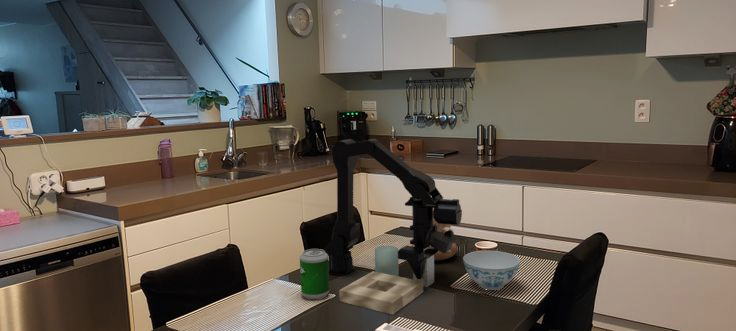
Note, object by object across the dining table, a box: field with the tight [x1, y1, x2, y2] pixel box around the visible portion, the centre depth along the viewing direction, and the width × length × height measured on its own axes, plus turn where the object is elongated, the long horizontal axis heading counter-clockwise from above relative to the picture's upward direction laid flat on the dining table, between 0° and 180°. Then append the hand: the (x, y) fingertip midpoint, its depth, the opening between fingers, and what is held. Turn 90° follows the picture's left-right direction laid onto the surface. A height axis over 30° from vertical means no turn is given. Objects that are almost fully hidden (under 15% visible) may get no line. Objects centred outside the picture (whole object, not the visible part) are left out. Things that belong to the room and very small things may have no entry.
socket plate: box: [338, 270, 424, 315], centre depth 137 cm, size 16×16×3 cm
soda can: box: [299, 248, 330, 300], centre depth 139 cm, size 8×8×12 cm
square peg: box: [412, 253, 435, 288], centre depth 146 cm, size 4×4×8 cm
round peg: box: [374, 245, 400, 277], centre depth 152 cm, size 7×7×8 cm
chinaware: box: [462, 250, 521, 291], centre depth 142 cm, size 15×15×8 cm
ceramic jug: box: [411, 217, 458, 262], centre depth 168 cm, size 18×14×14 cm
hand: (423, 276), depth 146 cm, fingers open, 5 cm apart
